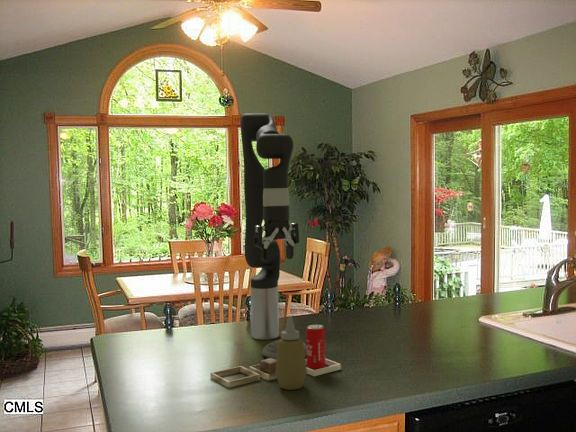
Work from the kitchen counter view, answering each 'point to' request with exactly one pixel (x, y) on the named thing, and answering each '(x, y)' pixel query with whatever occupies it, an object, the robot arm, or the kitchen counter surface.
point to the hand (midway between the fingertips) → (277, 260)
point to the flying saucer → (275, 349)
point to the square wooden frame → (262, 373)
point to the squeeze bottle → (290, 358)
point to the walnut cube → (268, 365)
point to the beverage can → (315, 346)
